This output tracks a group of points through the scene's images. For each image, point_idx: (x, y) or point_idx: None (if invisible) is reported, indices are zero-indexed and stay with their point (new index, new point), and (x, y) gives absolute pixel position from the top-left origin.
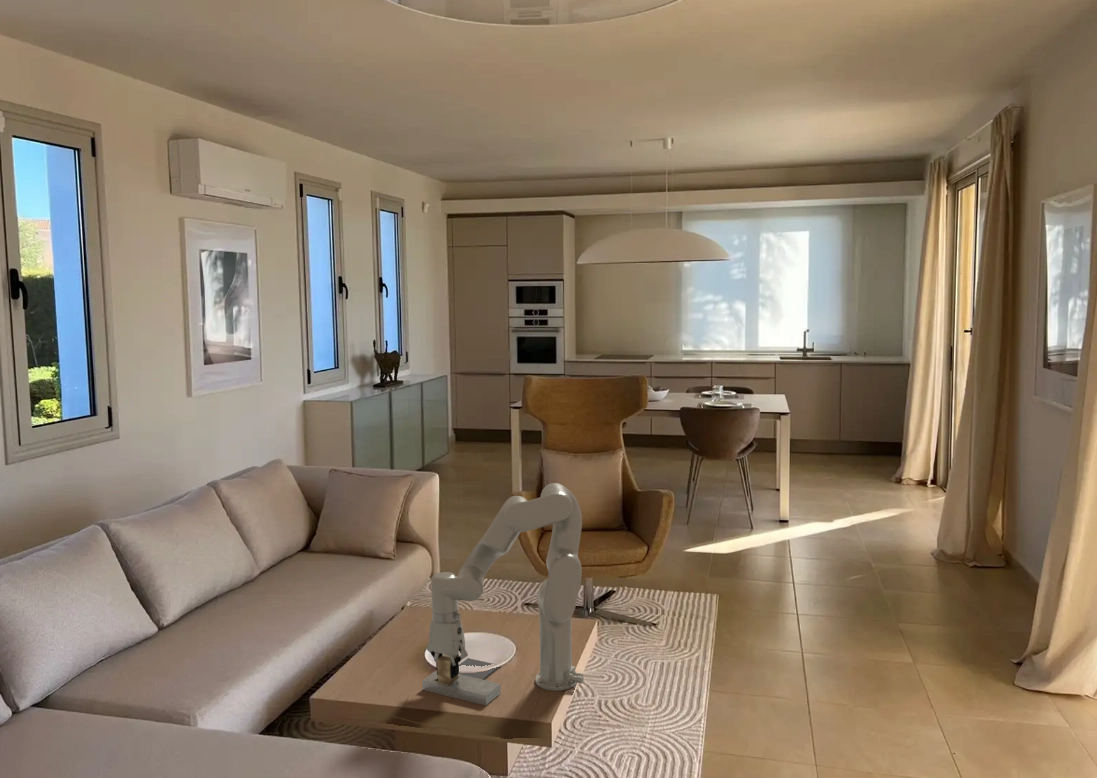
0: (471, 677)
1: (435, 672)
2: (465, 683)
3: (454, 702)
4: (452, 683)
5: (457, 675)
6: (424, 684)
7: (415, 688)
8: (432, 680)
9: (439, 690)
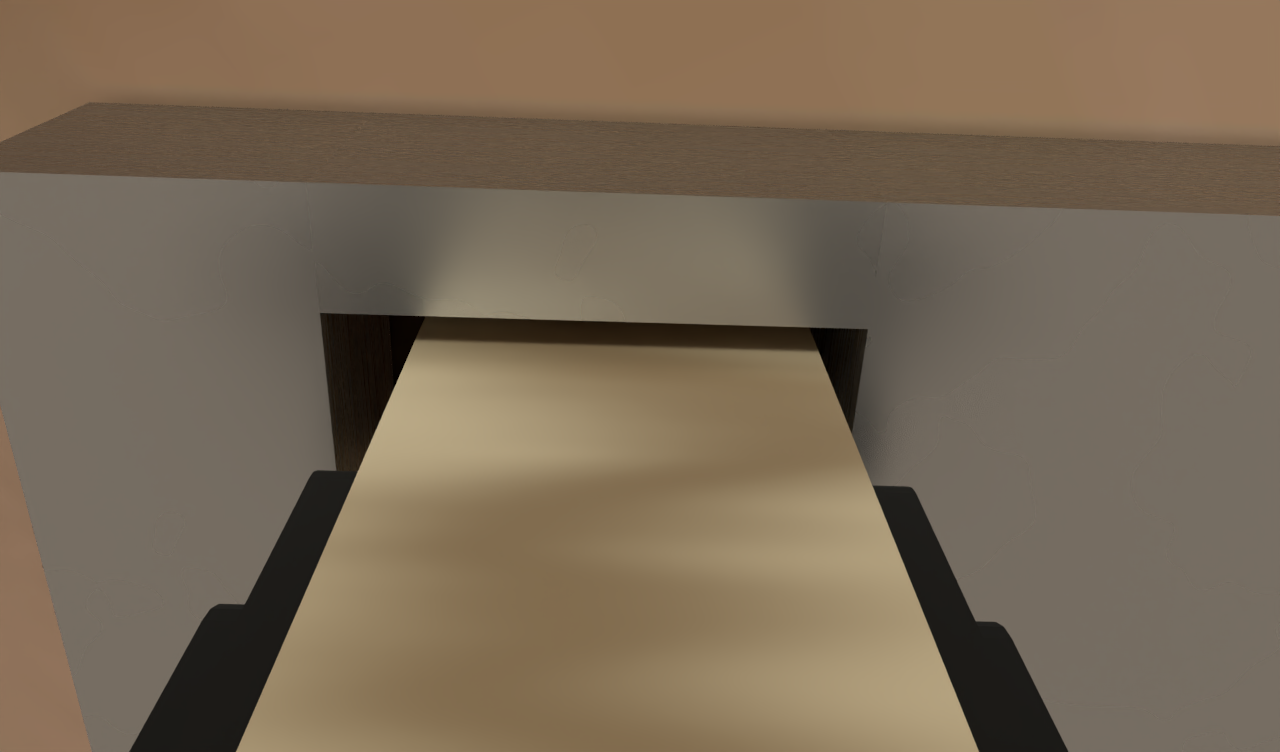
0: (1239, 241)
1: (53, 381)
2: (1178, 581)
3: None
4: None
5: (832, 403)
6: None
7: (13, 615)
8: None
9: None
